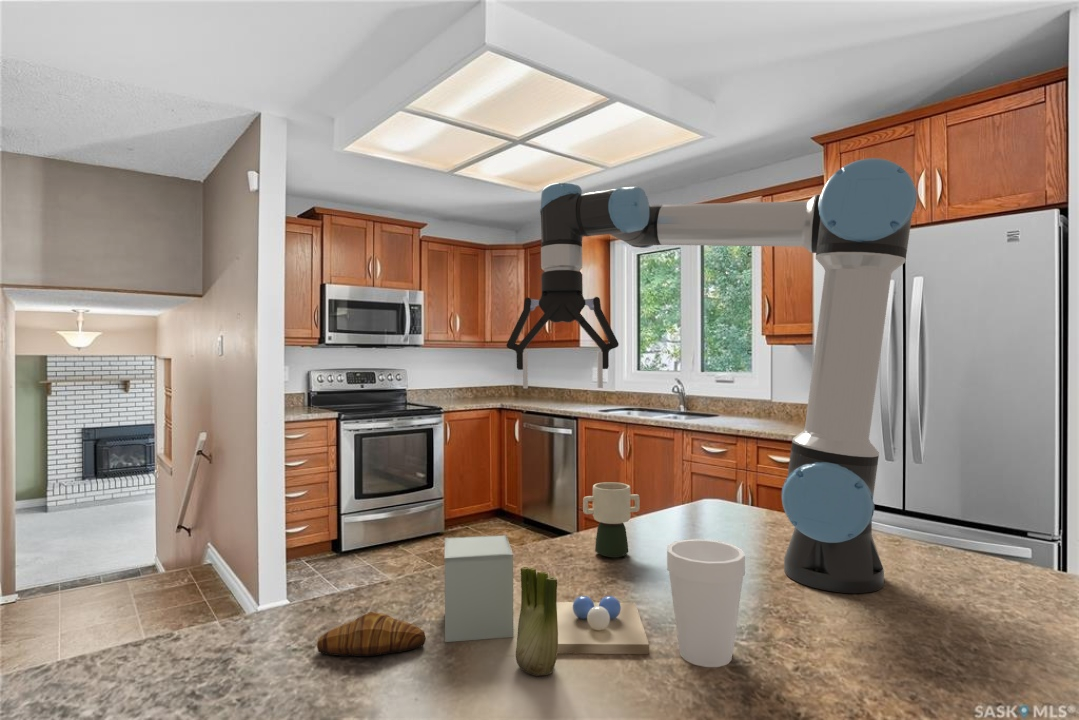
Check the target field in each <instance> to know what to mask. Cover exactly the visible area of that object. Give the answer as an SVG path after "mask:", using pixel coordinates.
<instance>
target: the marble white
mask: <svg viewBox="0 0 1079 720" xmlns="http://www.w3.org/2000/svg"><path fill="white" fill-rule="evenodd" d="M587 621H588V624H589V625H590V627H591V628H593V629H594V630H598V631H600V630H604V629H605V628H606V627H607V626H608V625H609V622H610V615H609V613H608V611H607V610H606V609H605V608H604V607H601V606H595V607H593V608H591V609H590V610H589V612H588V615H587Z"/></svg>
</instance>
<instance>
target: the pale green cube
mask: <svg viewBox="0 0 1079 720" xmlns="http://www.w3.org/2000/svg"><path fill="white" fill-rule="evenodd" d="M503 638H504V639H505V638H506V639H507V638H514V553H513V551H512V547H511V545H510V542H509V539H508V536H507V534H500V535H499V534H498V535H497V534H496V535H494V534H493V535H477V536H456V537H444V643H452V642H463V641H465V642H466V641H467V642H468V641H478V640H490V639H491V640H492V639H503Z"/></svg>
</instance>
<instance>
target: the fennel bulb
mask: <svg viewBox="0 0 1079 720" xmlns="http://www.w3.org/2000/svg"><path fill="white" fill-rule="evenodd" d="M520 585H521V591H520V593H521V598H520V599H521V602H520V603H521V604H520V611H519V615H518V616H519V617H518V625H517V634H516V635H517V636H516V647H515V660H516V664H517V665H518V667H519V668H520V669H521V670H522V671H523V672H525V673H527V674H528V675H532V676H547V675H551V674H552V673H553V671H554V668H555V665H556V661H557V658H558V657H557V656H558V653H557V648H558V623H557V604H556V602H558V601H557V599H558V597H557V594H558V591H557V590H558V579H557V578H556V577H555V576H549V573H548V572H547V571H541V570H539V571H537V569H536V568H534V567H533V568H531V567H529V566H523V567H521V568H520Z"/></svg>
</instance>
